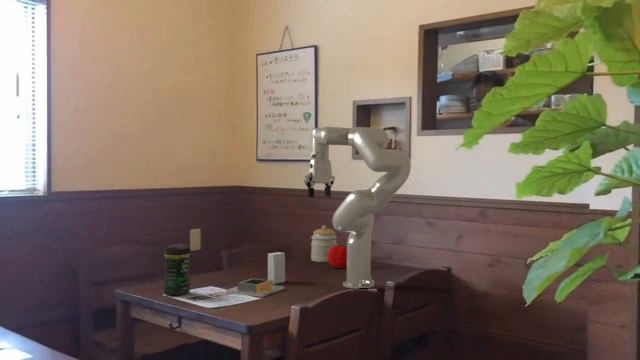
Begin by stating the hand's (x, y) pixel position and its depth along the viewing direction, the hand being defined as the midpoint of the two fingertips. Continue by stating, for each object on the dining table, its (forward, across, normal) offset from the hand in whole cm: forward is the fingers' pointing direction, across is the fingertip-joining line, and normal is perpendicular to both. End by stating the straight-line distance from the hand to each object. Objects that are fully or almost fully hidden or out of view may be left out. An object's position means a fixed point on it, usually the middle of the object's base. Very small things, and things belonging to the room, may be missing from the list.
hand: (319, 196), depth 262 cm
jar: (+35, +32, +30) cm, 56 cm away
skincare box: (+35, -21, +2) cm, 41 cm away
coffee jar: (+35, -62, +9) cm, 72 cm away
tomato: (+35, +24, +10) cm, 43 cm away
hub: (+34, -37, -5) cm, 51 cm away
